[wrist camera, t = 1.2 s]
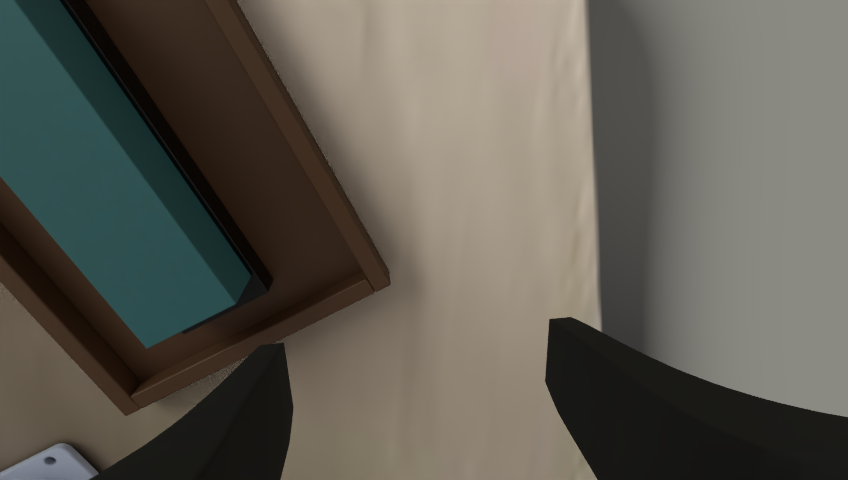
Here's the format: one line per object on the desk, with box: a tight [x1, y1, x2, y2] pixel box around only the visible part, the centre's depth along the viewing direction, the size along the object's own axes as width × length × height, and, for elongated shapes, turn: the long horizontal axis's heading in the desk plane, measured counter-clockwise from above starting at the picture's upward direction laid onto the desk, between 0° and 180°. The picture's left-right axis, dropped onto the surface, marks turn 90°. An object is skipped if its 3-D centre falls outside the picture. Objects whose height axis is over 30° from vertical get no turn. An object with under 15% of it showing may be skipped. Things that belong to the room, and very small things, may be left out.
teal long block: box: [0, 0, 274, 348], centre depth 17 cm, size 14×4×4 cm, turn 26°
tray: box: [0, 0, 390, 416], centre depth 19 cm, size 14×19×2 cm
